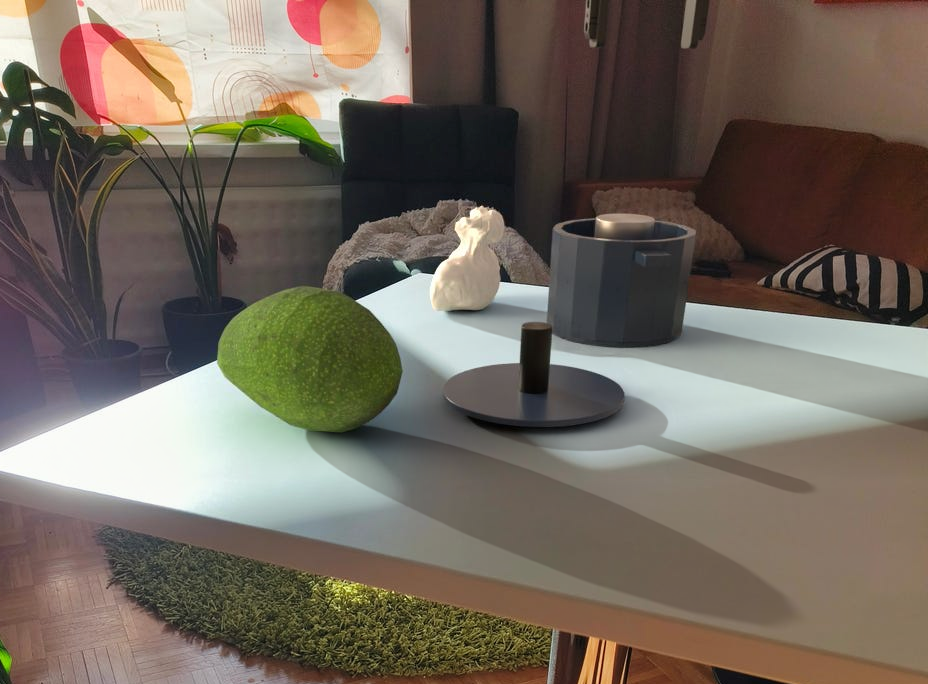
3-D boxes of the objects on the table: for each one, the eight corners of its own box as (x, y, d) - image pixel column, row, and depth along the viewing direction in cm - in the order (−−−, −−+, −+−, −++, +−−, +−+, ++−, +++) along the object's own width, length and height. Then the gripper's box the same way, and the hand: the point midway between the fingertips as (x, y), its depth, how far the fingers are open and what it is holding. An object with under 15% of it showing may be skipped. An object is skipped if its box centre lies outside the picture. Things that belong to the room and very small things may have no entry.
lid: (591, 371, 79) (598, 300, 76) (650, 429, 67) (661, 347, 64) (429, 379, 77) (429, 306, 74) (460, 440, 65) (461, 356, 62)
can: (631, 316, 94) (643, 212, 88) (650, 330, 89) (664, 222, 84) (579, 318, 93) (588, 214, 88) (596, 333, 89) (606, 223, 83)
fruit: (194, 420, 69) (172, 283, 63) (287, 387, 75) (275, 261, 70) (339, 466, 61) (329, 316, 55) (428, 426, 68) (427, 287, 62)
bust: (445, 340, 95) (507, 258, 88) (395, 289, 95) (453, 201, 88) (491, 316, 104) (552, 239, 97) (446, 269, 104) (503, 188, 97)
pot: (644, 304, 100) (655, 212, 95) (714, 351, 85) (732, 245, 80) (526, 309, 98) (531, 215, 93) (576, 358, 83) (585, 249, 78)
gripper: (596, -219, 65) (577, 47, 74) (777, -209, 67) (737, 48, 76) (567, -196, 71) (553, 47, 80) (734, -188, 73) (702, 48, 82)
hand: (643, 48), depth 78 cm, fingers open, 8 cm apart
